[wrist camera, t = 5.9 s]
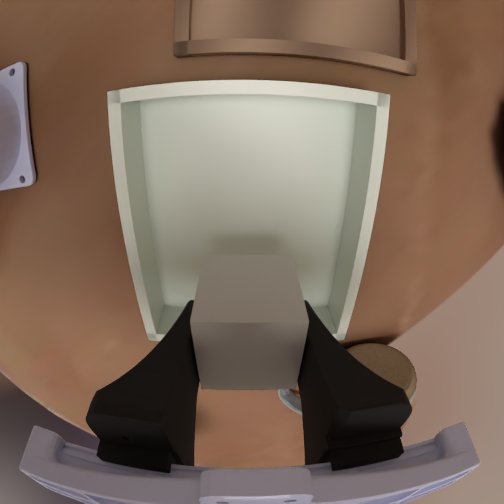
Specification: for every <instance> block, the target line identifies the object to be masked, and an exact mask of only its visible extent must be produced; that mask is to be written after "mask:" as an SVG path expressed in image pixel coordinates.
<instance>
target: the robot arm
mask: <svg viewBox="0 0 504 504" xmlns="http://www.w3.org/2000/svg"><path fill="white" fill-rule="evenodd" d="M14 69H15V73H14V75H13V71H14ZM23 176H24V178H25V181H24V179H23ZM35 181H36V173H35V167H34V161H33V154H32V147H31V139H30V130H29V119H28V105H27V67H26V64H25V62H18V63H15V64H13V65H11V66H9V67H7V68H5V69H3V70H1V71H0V191H1V190H7V189H13V188H19V187H25V186H30V185H32V184H34V183H35ZM304 303H305V307H306V311H307V315H308V319H309V325H308V331H307V336H306V341H305V346H304V351H303V356H302V361H301V366H300V371H299V375H298V380H297V382H298V386H299V391H300V397H301V407H302V417H303V430H304V447H305V465H303V466H291V467H271V468H213V467H197V466H194V440H195V417H196V402H197V393H198V387H199V382H200V379H199V373H198V368H197V362H196V356H195V350H194V344H193V338H192V332H191V325H190V319H191V314H192V309H193V304H194V300H190V301H188V303H187V304H186V306H185V308H184V309H183V311H182V313H181V314H180V316H179V317H178V319H177V320H176V321H175V323H174V324H173V326H172V327H171V328H170V330H169V331H168V332H167V334H166V335H165V336H164V337H163V338H162V340H161V341H160V342H159V343H158V344H157V346H156V347H155V348H154V349H153V350H152V351H151V352H150V353H149V354H148V355H147V356H146V357H145V358H144V359H143V360H141V361H140V362H139V363H138V364H137V365H136V366H135V367H133V368H132V369H131V370H130V371H128V372H127V373H126V374H124V375H123V376H121V377H120V378H119V379H117V380H116V381H114V382H112V383H111V384H109V385H107V386H105V387H104V388H102V389H100V390H98V391H96V393H95V395H94V397H93V399H92V402H91V404H90V407H89V410H88V413H87V416H86V422H87V424H88V425H89V427H90V428H91V430H92V431H93V432H94V433H95V434H96V435H97V437H98V438H99V439H100V443H99V447H98V450H92V449H89V448H85V447H81V446H78V445H74V444H71V443H68V442H65V441H64V440H63V438H62V437H61V436H59V435H58V434H56V433H55V432H53V431H50V430H47V429H44V428H41V427H38V426H34V427H33V430H32V432H31V435H30V438H29V440H28V443H27V446H26V449H25V452H24V454H23V457H22V460H21V463H20V466H19V469H20V470H21V471H22V472H24V473H25V474H27V475H28V476H29V477H31V478H32V479H34V480H35V481H37V482H38V483H40V484H41V485H43V486H44V487H46V488H48V489H50V490H52V491H55V492H57V493H60V494H62V495H65V496H67V497H70V498H72V499H75V500H78V501H81V502H83V503H86V504H404V503H406V502H409V501H412V500H414V499H417V498H419V497H422V496H425V495H427V494H429V493H432V492H434V491H437V490H439V489H441V488H444V487H446V486H449V485H451V484H452V483H454V482H455V481H457V480H458V479H460V478H462V477H463V476H465V475H466V474H467V473H469V472H470V471H472V470H473V469H474V468H476V467H477V466H478V465H479V464H480V461H479V459H478V456H477V453H476V450H475V448H474V445H473V443H472V440H471V438H470V435H469V433H468V431H467V428H466V426H465V424H464V423H463V422H462V423H459V424H456V425H453V426H451V427H448V428H445V429H443V430H442V431H440V432H439V433H438V434H437V435H436V436H435V438H434V439H430V440H427V441H424V442H421V443H418V444H414V445H410V446H407V447H403V446H402V443H401V439H400V437H401V436H402V432H401V428H400V427H401V426H402V425H403V424H404V423H405V421H406V420H407V419H408V417H409V416H410V414H411V412H412V406H411V404H410V401H409V399H408V397H407V395H406V393H405V391H404V389H402V388H401V387H399V386H397V385H395V384H393V383H391V382H389V381H387V380H385V379H384V378H382V377H380V376H379V375H377V374H376V373H374V372H373V371H371V370H370V369H369V368H367V367H366V366H365V365H363V364H362V363H361V362H359V361H358V360H357V359H356V358H355V357H353V356H352V355H351V354H350V353H349V352H348V351H347V350H346V349H345V348H344V347H343V346H342V345H341V344H340V343H339V342H338V341H337V340H336V338H335V337H334V336H333V335H332V334H331V333H330V331H329V330H328V329H327V328H326V326H325V325H324V324H323V323H322V321H321V320H320V319H319V317H318V316H317V314H316V313H315V311H314V310H313V309H312V307H311V306H310V304H309V302H308V301H307V300H304Z"/></svg>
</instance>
